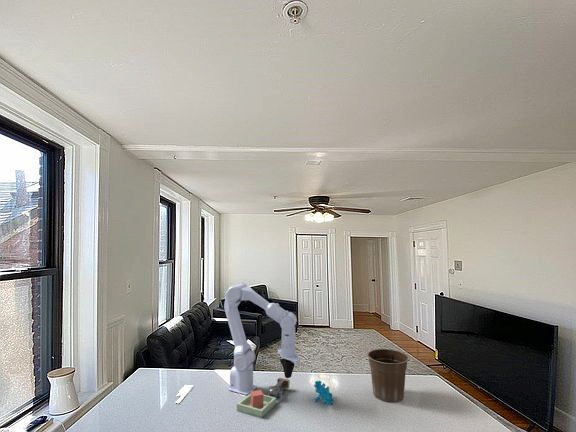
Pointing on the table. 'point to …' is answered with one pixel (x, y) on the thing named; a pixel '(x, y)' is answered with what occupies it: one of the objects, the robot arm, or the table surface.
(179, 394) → the butcher knife
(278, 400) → the crank base
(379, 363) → the plant pot
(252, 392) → the block
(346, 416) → the table surface
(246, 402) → the tray
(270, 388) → the crank
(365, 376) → the table surface
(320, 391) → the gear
